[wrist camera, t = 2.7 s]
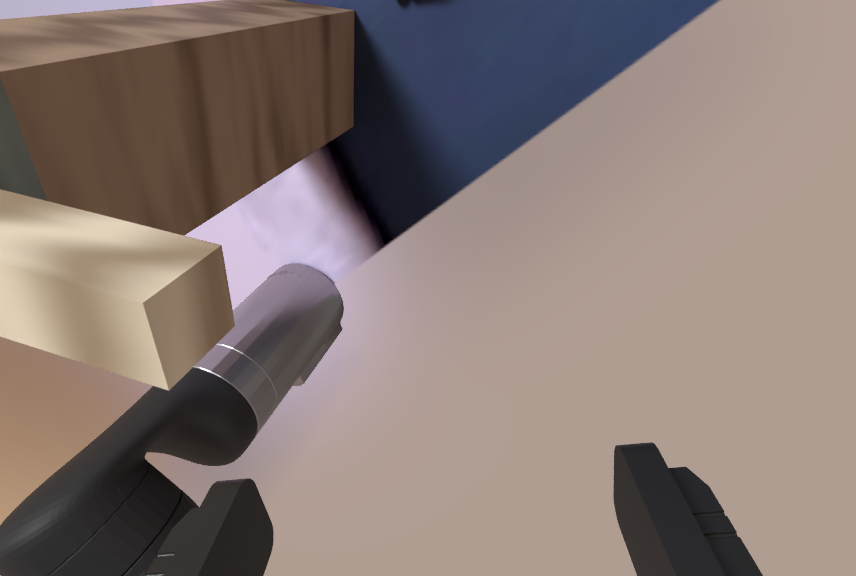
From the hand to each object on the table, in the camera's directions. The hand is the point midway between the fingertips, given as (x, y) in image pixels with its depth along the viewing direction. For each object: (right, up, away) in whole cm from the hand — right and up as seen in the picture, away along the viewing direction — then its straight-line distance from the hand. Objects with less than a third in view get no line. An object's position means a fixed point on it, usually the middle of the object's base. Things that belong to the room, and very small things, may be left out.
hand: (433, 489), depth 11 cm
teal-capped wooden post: (-10, +23, +30) cm, 40 cm away
